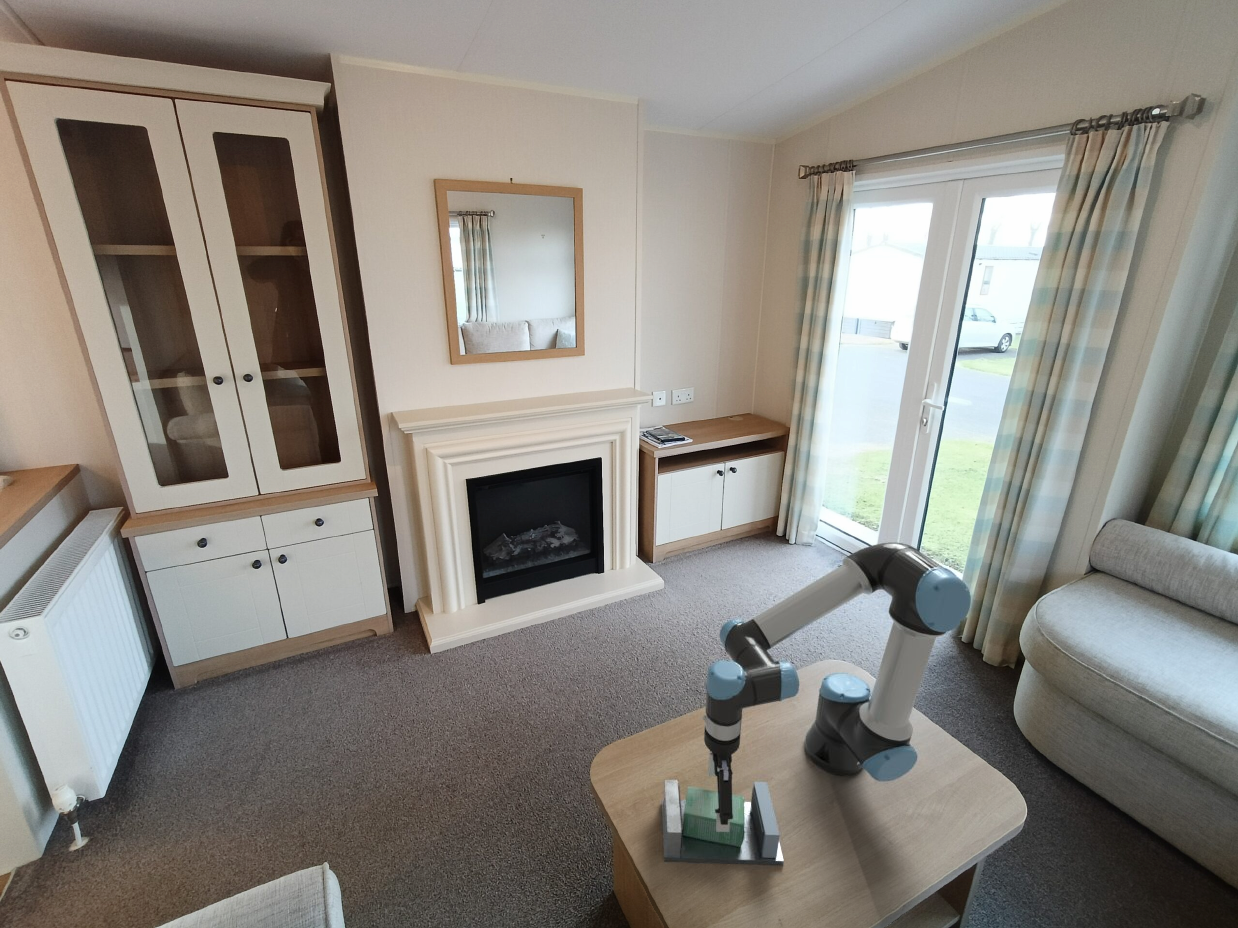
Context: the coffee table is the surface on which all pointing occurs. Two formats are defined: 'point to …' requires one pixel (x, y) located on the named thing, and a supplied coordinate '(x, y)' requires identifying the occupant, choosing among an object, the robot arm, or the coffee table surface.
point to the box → (712, 817)
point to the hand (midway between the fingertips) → (718, 801)
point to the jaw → (765, 820)
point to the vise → (703, 850)
